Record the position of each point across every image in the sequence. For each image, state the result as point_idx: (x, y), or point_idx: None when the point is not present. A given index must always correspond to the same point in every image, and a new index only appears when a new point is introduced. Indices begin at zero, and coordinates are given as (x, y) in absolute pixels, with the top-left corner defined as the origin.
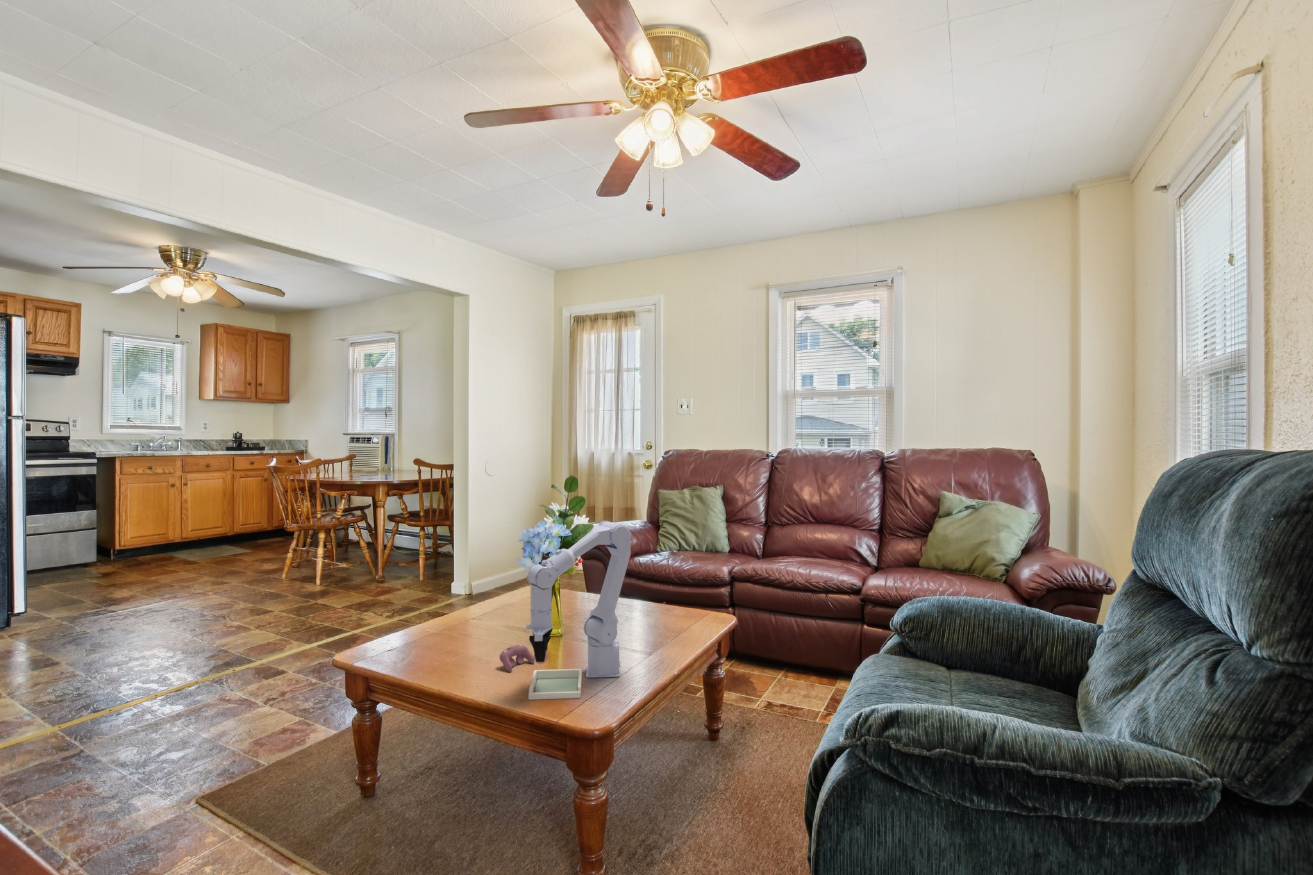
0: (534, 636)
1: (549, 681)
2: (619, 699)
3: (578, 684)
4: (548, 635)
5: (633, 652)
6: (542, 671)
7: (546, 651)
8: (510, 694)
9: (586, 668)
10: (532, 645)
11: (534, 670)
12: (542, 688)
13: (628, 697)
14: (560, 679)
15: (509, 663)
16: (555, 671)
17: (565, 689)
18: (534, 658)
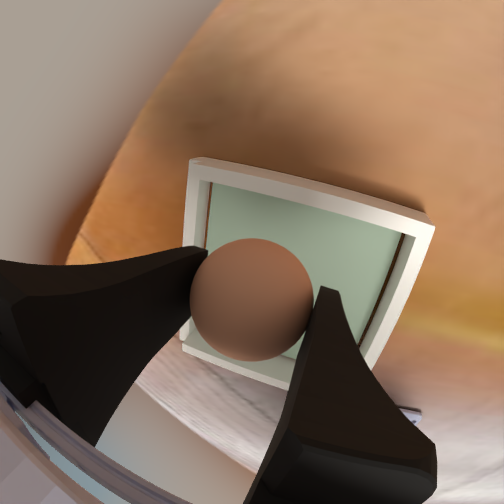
0: (11, 343)
1: (356, 273)
2: (174, 393)
3: (205, 354)
4: (253, 482)
5: (436, 489)
6: (405, 265)
7: (228, 356)
8: (272, 80)
9: (403, 411)
10: (53, 268)
11: (430, 227)
12: (288, 228)
13: (182, 410)
14: (358, 319)
15: None
16: (380, 322)
17: None
18: (228, 243)
